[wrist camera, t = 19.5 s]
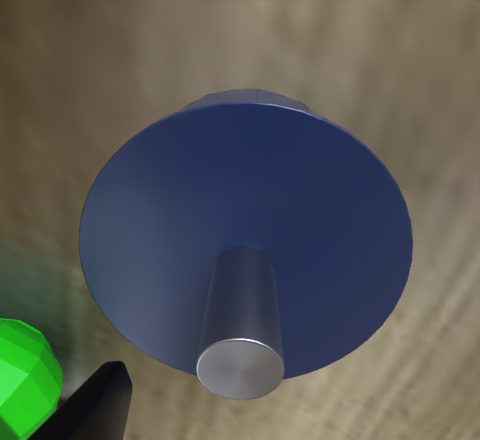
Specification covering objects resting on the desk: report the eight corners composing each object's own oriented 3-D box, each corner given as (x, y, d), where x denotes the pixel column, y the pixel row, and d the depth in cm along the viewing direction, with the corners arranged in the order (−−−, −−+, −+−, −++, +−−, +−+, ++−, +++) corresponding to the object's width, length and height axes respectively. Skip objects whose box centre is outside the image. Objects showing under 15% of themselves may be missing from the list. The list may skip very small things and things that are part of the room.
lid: (421, 76, 11) (561, 105, 6) (387, 356, 17) (444, 490, 12) (43, 117, 12) (-106, 172, 7) (133, 369, 18) (87, 498, 13)
